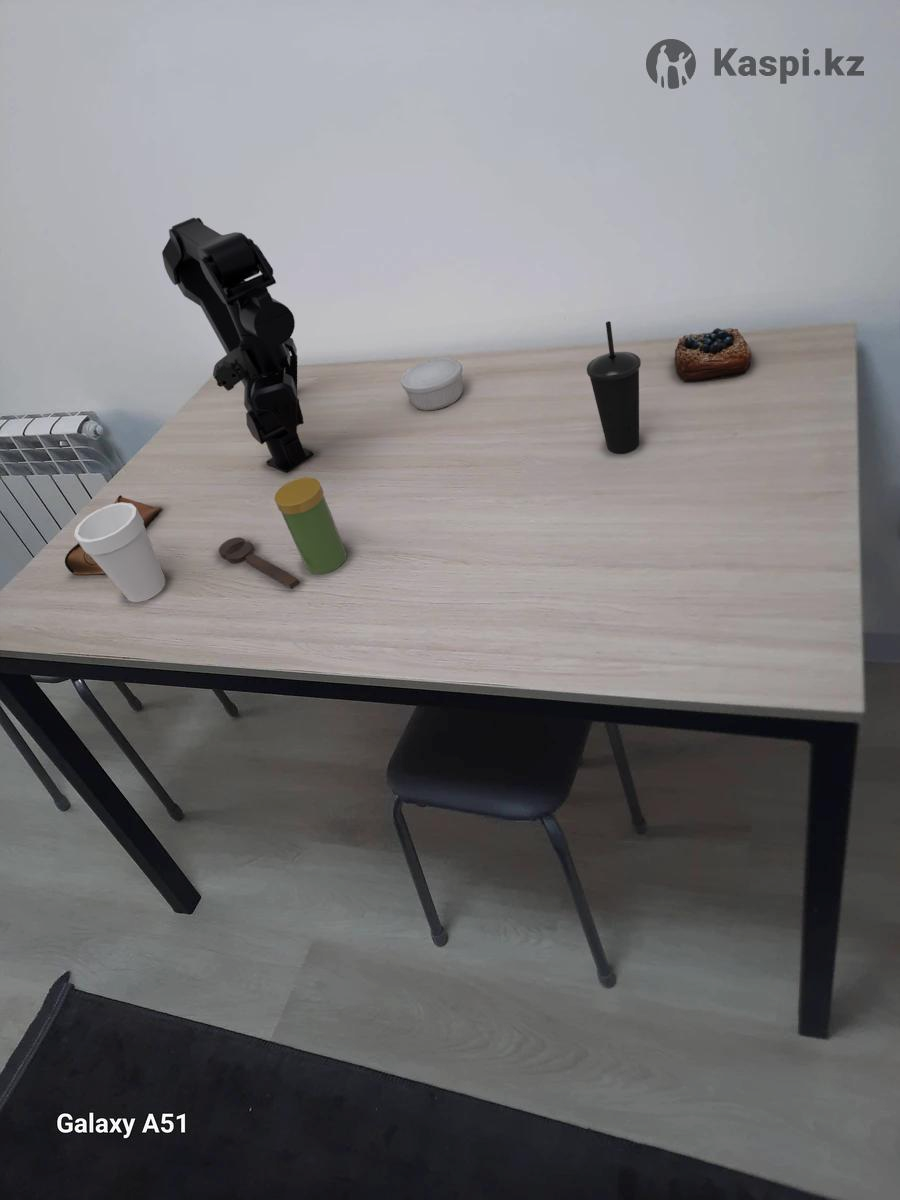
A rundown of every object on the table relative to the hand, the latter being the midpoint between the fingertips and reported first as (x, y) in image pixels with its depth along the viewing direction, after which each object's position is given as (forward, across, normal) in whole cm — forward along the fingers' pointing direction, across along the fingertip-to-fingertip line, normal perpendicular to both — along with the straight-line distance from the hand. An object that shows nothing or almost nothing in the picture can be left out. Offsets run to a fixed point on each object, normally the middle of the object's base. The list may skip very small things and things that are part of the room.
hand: (293, 419), depth 135 cm
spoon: (+13, +18, -10) cm, 24 cm away
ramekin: (+13, -20, +23) cm, 33 cm away
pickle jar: (+13, +21, 0) cm, 25 cm away
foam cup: (+13, +15, -29) cm, 35 cm away
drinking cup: (+13, +12, +48) cm, 52 cm away
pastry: (+13, -4, +68) cm, 70 cm away
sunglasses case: (+13, -1, -36) cm, 38 cm away
